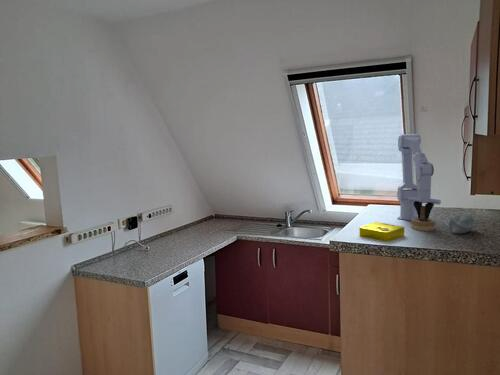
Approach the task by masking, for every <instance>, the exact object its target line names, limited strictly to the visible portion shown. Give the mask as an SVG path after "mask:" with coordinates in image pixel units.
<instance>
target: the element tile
mask: <svg viewBox="0 0 500 375" xmlns="http://www.w3.org/2000/svg"><path fill="white" fill-rule="evenodd" d="M359 237H362V238H366V239H372V240H376V241H381V242H392V241H395V240H398V239H401V238H402V237H405V226H402V225H398V224H392V223H386V222H378V221H376V222H372V223H369V224H365V225H362V226H360V227H359Z"/></svg>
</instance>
